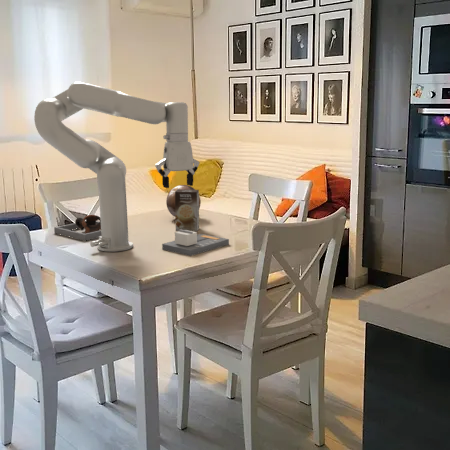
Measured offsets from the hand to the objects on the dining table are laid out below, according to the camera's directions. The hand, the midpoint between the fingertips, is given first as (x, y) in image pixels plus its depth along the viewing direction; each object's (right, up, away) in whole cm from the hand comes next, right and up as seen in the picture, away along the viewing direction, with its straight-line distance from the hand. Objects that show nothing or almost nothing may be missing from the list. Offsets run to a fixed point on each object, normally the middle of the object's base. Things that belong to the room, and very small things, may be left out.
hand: (178, 186), depth 212 cm
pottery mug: (-37, -17, +26) cm, 49 cm away
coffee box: (+2, -16, +30) cm, 33 cm away
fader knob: (+3, -20, -2) cm, 21 cm away
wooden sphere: (-1, -11, +50) cm, 51 cm away
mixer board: (+6, -22, +2) cm, 23 cm away
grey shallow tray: (-38, -17, +25) cm, 49 cm away
